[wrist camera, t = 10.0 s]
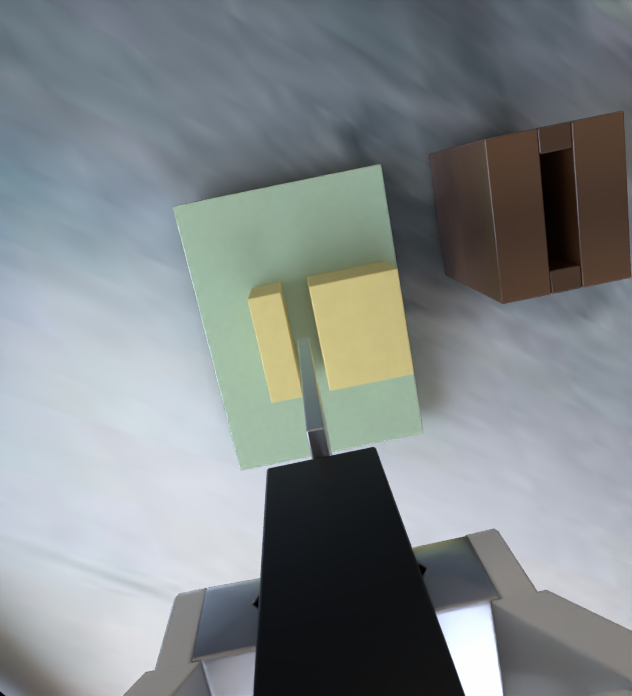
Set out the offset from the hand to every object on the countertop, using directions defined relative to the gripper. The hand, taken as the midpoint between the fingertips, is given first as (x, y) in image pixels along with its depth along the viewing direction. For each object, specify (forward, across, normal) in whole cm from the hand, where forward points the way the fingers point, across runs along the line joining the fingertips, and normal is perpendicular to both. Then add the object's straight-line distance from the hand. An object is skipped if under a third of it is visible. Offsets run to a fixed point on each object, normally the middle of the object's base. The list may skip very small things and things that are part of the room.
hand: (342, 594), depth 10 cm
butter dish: (+21, 0, 0) cm, 21 cm away
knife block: (+21, -10, -4) cm, 23 cm away
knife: (+11, 0, 0) cm, 11 cm away
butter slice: (+20, +1, 0) cm, 20 cm away
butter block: (+20, -3, 0) cm, 20 cm away
